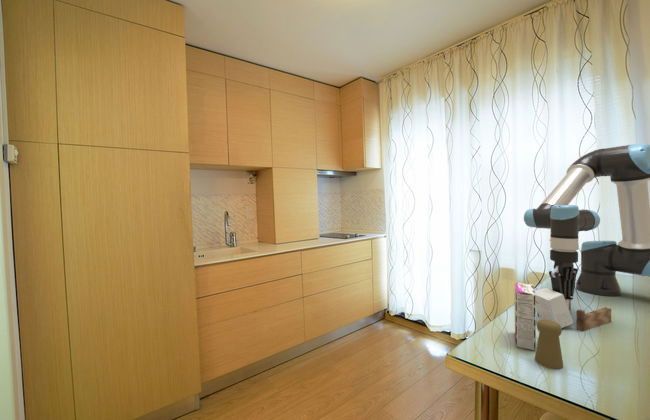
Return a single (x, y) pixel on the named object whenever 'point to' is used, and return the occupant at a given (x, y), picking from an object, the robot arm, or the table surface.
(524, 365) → the table surface
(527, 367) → the table surface
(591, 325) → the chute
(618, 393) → the table surface
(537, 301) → the small box
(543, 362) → the cork
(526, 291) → the candy bar box
